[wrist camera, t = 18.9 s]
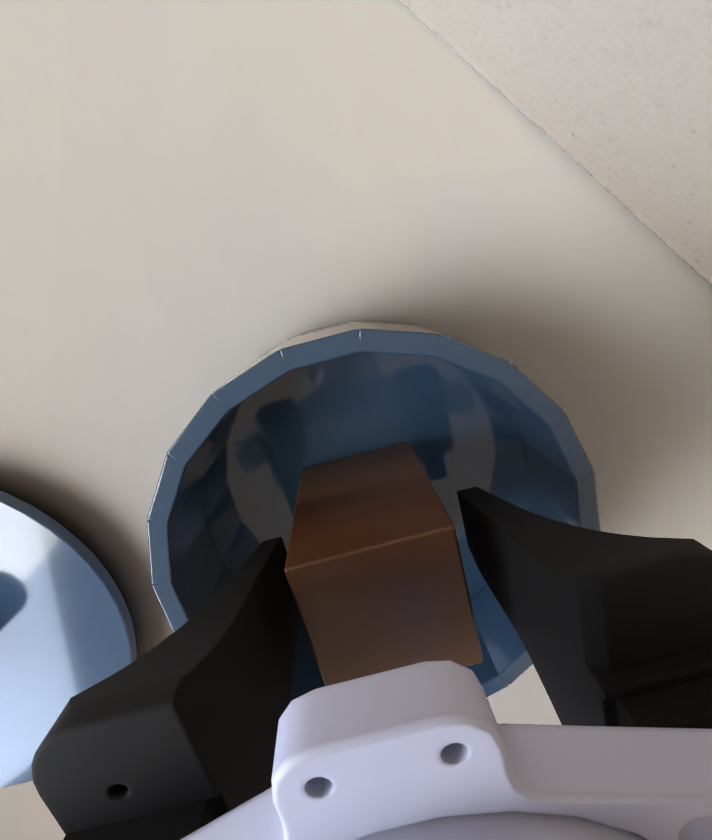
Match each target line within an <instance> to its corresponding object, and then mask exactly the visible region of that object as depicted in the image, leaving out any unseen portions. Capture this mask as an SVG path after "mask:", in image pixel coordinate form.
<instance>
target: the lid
mask: <svg viewBox="0 0 712 840" xmlns="http://www.w3.org/2000/svg"><path fill="white" fill-rule="evenodd" d="M135 660H137V649H136V637H135V632H134V627H133V623H132V619H131V615H130V613H129V610H128V608H127V605H126V603H125V601H124V598H123V596H122V594H121V592H120V591H119V589H118V587H117V585H116V584H115V582H114V580H113V579H112V577H111V575H110V574H109V573H108V571H107V570H106V569H105V568H104V566H103V565H102V564H101V562H100V561H99V560H98V558H97V557H96V556H95V555H94V554H93V553H92V552H91V551H90V550H89V549H88V548H87V547H86V546H85V545H84V544H83V543H82V542H81V541H80V540H79V539H78V538H77V537H76V536H75V535H73V534H72V533H71V532H70V531H68V530H67V529H66V528H65V527H63V526H62V525H61V524H60V523H58V522H57V521H56V520H54V519H53V518H51V517H49V516H48V515H46V514H45V513H43V512H42V511H40V510H38V509H37V508H35V507H34V506H32V505H30V504H28V503H26V502H24V501H22V500H20V499H18V498H16V497H14V496H12V495H10V494H8V493H6V492H3V491H0V788H1V787H6V786H11V785H16V784H21V783H25V782H28V781H31V780H33V779H32V769H31V764H32V761H33V758H34V755H35V752H36V750H37V749H38V747H39V746H40V744H41V743H42V741H43V740H44V738H45V737H46V735H47V734H48V732H49V731H50V729H51V727H52V726H53V724H54V723H55V721H56V720H57V718H58V717H59V715H60V714H61V712H62V711H63V709H64V707H65V706H66V704H67V703H68V701H69V700H70V698H71V697H73V696H75V695H77V694H79V693H81V692H83V691H84V690H86V689H88V688H90V687H91V686H93V685H95V684H97V683H99V682H100V681H102V680H104V679H106V678H108V677H109V676H111V675H113V674H114V673H116V672H118V671H119V670H121V669H123V668H124V667H126V666H127V665H129V664H130V663H132V662H134V661H135Z"/></svg>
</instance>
